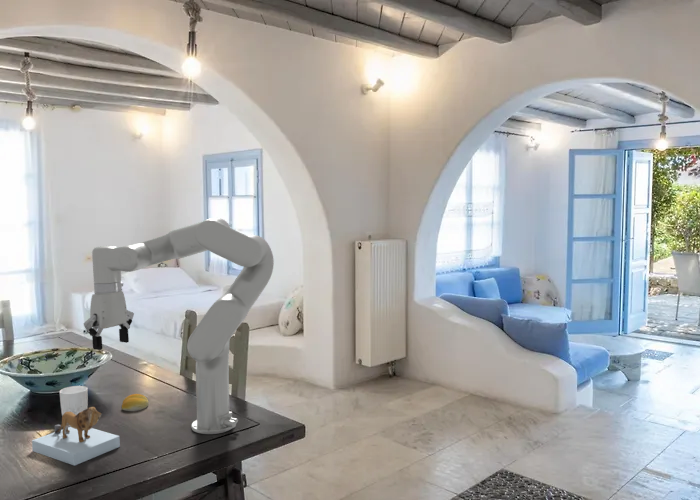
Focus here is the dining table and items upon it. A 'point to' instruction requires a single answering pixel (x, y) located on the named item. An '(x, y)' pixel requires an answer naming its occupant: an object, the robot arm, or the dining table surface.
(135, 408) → the bread roll
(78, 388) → the white cup
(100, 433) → the plinth
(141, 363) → the dining table surface
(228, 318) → the robot arm
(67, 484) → the dining table surface
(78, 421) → the lion figurine
